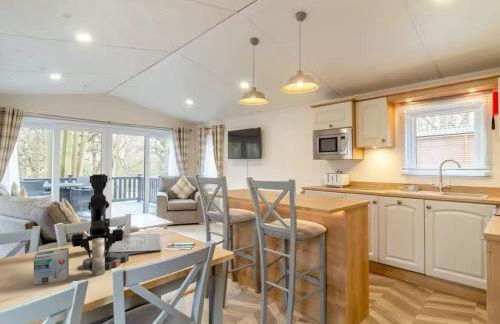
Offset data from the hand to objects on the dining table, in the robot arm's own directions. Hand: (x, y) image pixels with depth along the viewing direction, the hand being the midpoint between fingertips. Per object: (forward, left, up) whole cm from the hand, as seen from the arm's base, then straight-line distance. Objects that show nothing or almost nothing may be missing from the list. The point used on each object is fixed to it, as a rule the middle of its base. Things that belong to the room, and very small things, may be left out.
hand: (98, 256), depth 114 cm
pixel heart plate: (-6, +12, -8) cm, 15 cm away
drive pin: (-1, +1, -8) cm, 8 cm away
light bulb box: (-15, -7, -8) cm, 18 cm away
